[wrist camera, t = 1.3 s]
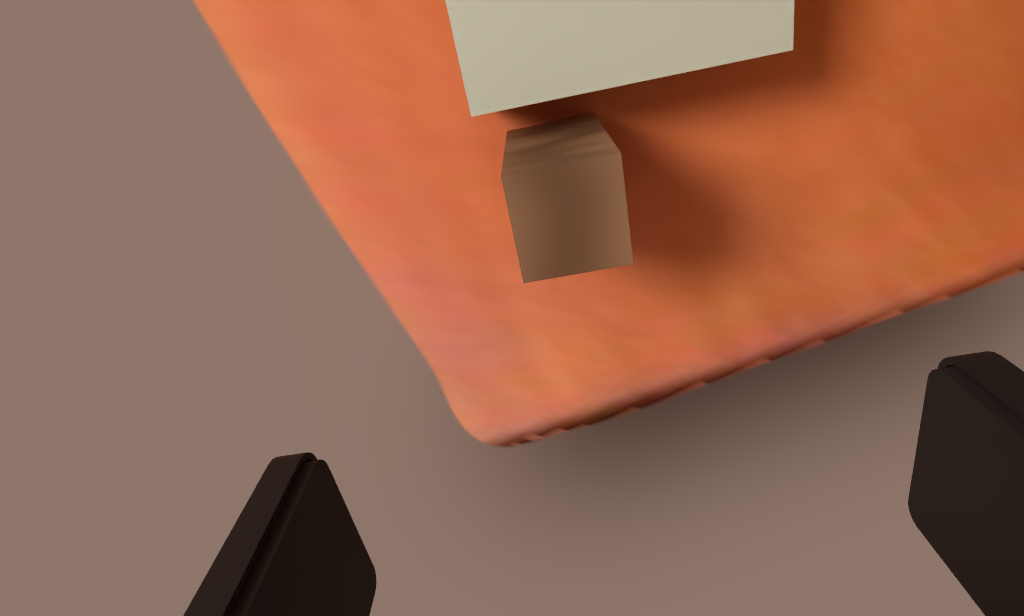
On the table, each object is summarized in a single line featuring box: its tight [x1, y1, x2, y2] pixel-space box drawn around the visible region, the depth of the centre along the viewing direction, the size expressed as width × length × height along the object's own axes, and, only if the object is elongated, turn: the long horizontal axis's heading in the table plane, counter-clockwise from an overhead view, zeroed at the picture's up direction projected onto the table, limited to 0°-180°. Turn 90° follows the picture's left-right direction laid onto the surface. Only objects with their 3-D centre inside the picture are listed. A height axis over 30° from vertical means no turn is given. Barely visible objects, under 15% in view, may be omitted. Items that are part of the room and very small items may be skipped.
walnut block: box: [501, 114, 633, 283], centre depth 23 cm, size 4×4×8 cm
